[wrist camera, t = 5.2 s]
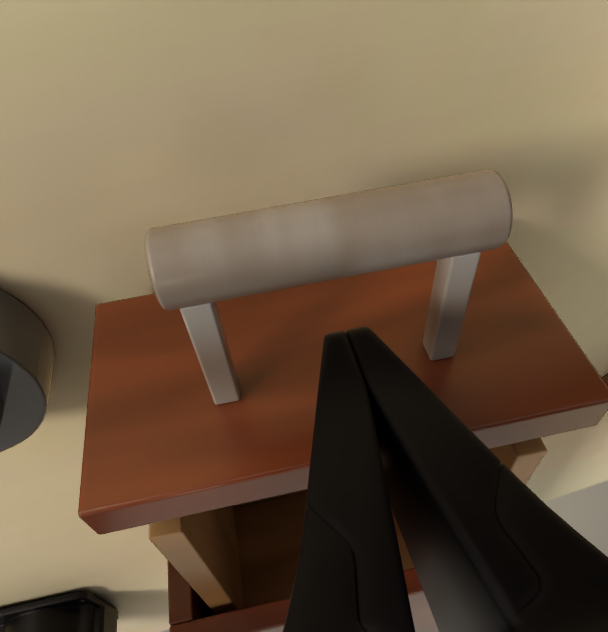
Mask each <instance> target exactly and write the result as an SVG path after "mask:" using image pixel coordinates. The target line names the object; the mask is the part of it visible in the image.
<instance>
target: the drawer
mask: <svg viewBox="0 0 608 632" xmlns="http://www.w3.org/2000/svg"><path fill="white" fill-rule="evenodd" d="M511 227H512V204H511V198H510V194H509V191H508V188H507V186H506V184H505V182H504V180H503V179H502V177H501V176H500V175H499V174H498V173H497V172H495V171H492V170H481V171H475V172H469V173H464V174H458V175H452V176H446V177H441V178H435V179H429V180H424V181H418V182H412V183H407V184H401V185H395V186H390V187H384V188H378V189H373V190H367V191H361V192H355V193H350V194H344V195H338V196H333V197H327V198H321V199H316V200H310V201H304V202H299V203H293V204H287V205H282V206H276V207H270V208H264V209H259V210H253V211H247V212H242V213H236V214H230V215H225V216H219V217H213V218H208V219H202V220H196V221H191V222H185V223H179V224H173V225H168V226H162V227H156V228H151V229H150V230H148V231H147V233H146V238H145V251H146V259H147V265H148V270H149V275H150V279H151V283H152V286H153V289H154V292H155V294H150V295H144V296H139V297H133V298H128V299H123V300H117V301H112V302H107V303H101V304H98V305H97V306H96V312H95V324H94V336H93V347H92V359H91V370H90V382H89V394H88V405H87V417H86V429H85V440H84V452H83V463H82V475H81V487H80V498H79V510H78V515H79V517H80V518H81V519H82V520H83V521H84V522H86V523H87V524H88V525H89V526H90V527H91V528H92V529H93V530H94V531H95V532H96V533H98V534H105V533H110V532H114V531H119V530H123V529H128V528H133V527H137V526H142V525H146V524H149V539H150V540H151V542H152V543H153V544H154V545H155V546H156V547H157V548H158V549H159V551H160V552H161V553H162V554H163V555H164V556H165V557H166V559H167V560H168V561H169V562H170V563H171V564H172V565H173V566H174V568H175V569H176V570H177V571H178V572H179V573H180V574H181V575H182V577H183V578H184V579H185V580H186V581H187V582H188V583H189V584H190V586H191V587H192V588H193V589H194V590H195V591H196V592H197V594H198V595H199V596H200V597H201V598H202V599H203V600H204V601H205V603H206V604H207V605H208V606H209V607H210V608H211V609H212V610H213V612H214V613H215V614H216V615H217V614H221V613H225V612H229V611H233V610H238V609H242V608H246V607H250V606H254V605H259V604H263V603H267V602H271V601H276V600H280V599H284V598H288V597H291V594H292V589H293V584H294V580H295V575H296V570H297V565H298V559H299V552H300V545H301V538H302V531H303V521H304V512H305V509H306V496H307V486H308V477H309V468H310V459H311V449H312V440H313V431H314V422H315V412H316V403H317V394H318V384H319V375H320V366H321V357H322V347H323V339H324V336H325V334H328V333H333V332H338V331H345V332H347V330H349V329H353V328H358V327H363V326H366V327H369V328H370V329H371V330H372V331H373V332H374V333H375V334H376V335H377V336H378V337H379V338H380V339H381V340H382V341H383V342H384V343H385V344H386V345H387V346H388V347H389V348H390V349H391V350H392V351H393V352H394V353H395V354H396V355H397V356H398V357H399V358H400V359H401V360H402V361H403V362H404V363H405V364H406V365H407V366H408V367H409V368H410V369H411V370H412V371H413V372H414V373H415V374H416V375H417V376H418V377H419V378H420V379H421V380H422V381H423V382H424V383H425V384H426V385H427V386H428V387H429V388H430V389H431V390H432V391H433V392H434V393H435V394H436V395H437V396H438V397H439V398H440V399H441V400H442V402H443V403H444V404H445V405H446V406H447V407H448V408H449V409H450V410H451V411H452V412H453V413H454V414H455V415H456V416H457V417H458V418H459V419H460V420H461V421H462V422H463V423H464V424H465V425H466V426H467V427H468V428H469V429H470V430H471V431H472V432H473V433H474V434H475V435H476V436H477V437H478V438H479V439H480V440H481V441H482V442H483V443H484V444H485V445H486V446H487V447H488V448H489V449H490V450H491V451H492V452H493V453H494V454H495V455H496V456H497V457H498V458H499V459H500V460H501V464H505V465H506V466H507V467H508V468H509V469H510V470H511V471H512V472H513V473H514V474H515V475H516V476H517V477H518V478H519V479H520V480H521V481H522V482H523V483H524V484H525V485H526V483H527V482H528V480H529V478H530V477H531V475H532V474H533V472H534V471H535V469H536V467H537V466H538V464H539V463H540V461H541V460H542V458H543V456H544V455H545V453H546V452H547V449H546V447H545V445H544V443H543V442H542V440H541V438H540V437H544V436H549V435H553V434H558V433H563V432H567V431H572V430H576V429H581V428H585V427H590V426H594V425H596V424H598V422H599V421H600V420H601V418H602V417H603V415H604V414H605V413H606V411H607V410H608V387H607V385H606V384H605V383H604V381H603V380H602V378H601V377H600V375H599V374H598V372H597V371H596V370H595V368H594V367H593V365H592V364H591V362H590V361H589V359H588V358H587V357H586V355H585V354H584V352H583V351H582V349H581V348H580V347H579V345H578V344H577V342H576V341H575V339H574V338H573V336H572V335H571V334H570V332H569V331H568V329H567V328H566V326H565V325H564V323H563V322H562V321H561V319H560V318H559V316H558V315H557V313H556V312H555V310H554V309H553V308H552V306H551V305H550V303H549V302H548V300H547V299H546V298H545V296H544V295H543V293H542V292H541V290H540V289H539V287H538V286H537V285H536V283H535V282H534V280H533V279H532V277H531V276H530V274H529V273H528V272H527V270H526V269H525V267H524V266H523V264H522V263H521V262H520V260H519V259H518V257H517V256H516V254H515V253H514V251H513V250H512V249H511V247H510V246H509V244H508V243H507V240H508V238H509V235H510V232H511ZM391 509H392V508H391ZM392 515H393V520H394V525H395V530H396V535H397V540H398V545H399V550H400V555H401V561H402V566H403V570H406V569H410V568H414V565H413V562H412V560H411V557H410V555H409V552H408V549H407V547H406V544H405V542H404V539H403V536H402V534H401V531H400V528H399V526H398V523H397V521H396V518H395V515H394V513H393V510H392Z"/></svg>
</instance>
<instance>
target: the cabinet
mask: <svg viewBox="0 0 608 632" xmlns="http://www.w3.org/2000/svg"><path fill="white" fill-rule="evenodd" d="M403 571H404V576H405V581H406V586H407V591H408V596H409V601H410V607H411V612H412V617H413V622H414V627H415V632H439V630H438V628H437V625H436V622H435V620H434V617H433V615H432V612H431V609H430V607H429V604H428V602H427V599H426V596H425V594H424V591H423V589H422V586H421V583H420V581H419V578H418V575H417V573H416V570H415V568H410V569H406V570H403ZM168 595H169V624H170V625H171V626H170V632H283V628H284V624H285V620H286V616H287V611H288V607H289V603H290V599H291V597H288V598H284V599H280V600H276V601H271V602H267V603H263V604H259V605H254V606H250V607H246V608H242V609H238V610H233V611H229V612H225V613H221V614H217V615H216V614H215V613H214V612H213V610H212V609H211V608H210V607H209V606H208V605H207V604H206V603H205V601H204V600H203V599H202V598H201V597H200V596H199V595H198V594H197V592H196V591H195V590H194V589H193V588H192V587H191V586H190V584H189V583H188V582H187V581H186V580H185V579H184V578H183V577H182V575H181V574H180V573H179V572H178V571H177V570H176V569H175V568H174V566H173V565H172V564H171V563H170V562H169V561H168Z"/></svg>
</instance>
